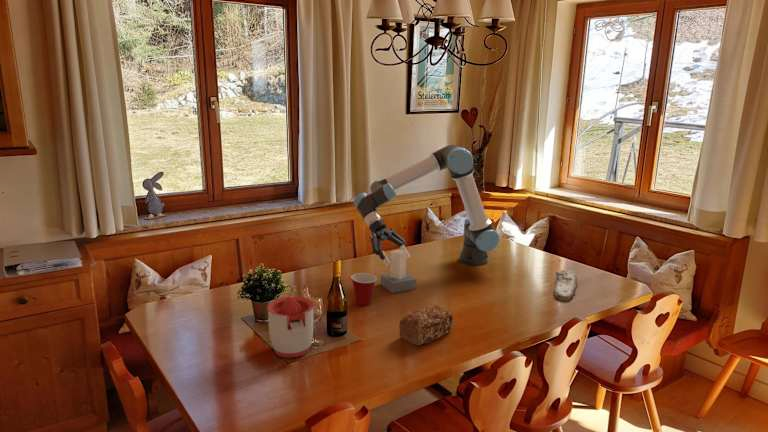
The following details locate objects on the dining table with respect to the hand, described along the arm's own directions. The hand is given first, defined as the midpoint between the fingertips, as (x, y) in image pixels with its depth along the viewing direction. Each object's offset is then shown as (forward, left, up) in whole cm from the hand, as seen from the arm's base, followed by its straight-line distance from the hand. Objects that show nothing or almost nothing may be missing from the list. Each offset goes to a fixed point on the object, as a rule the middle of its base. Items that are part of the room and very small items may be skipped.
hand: (398, 261), depth 241 cm
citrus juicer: (+54, +49, -12) cm, 74 cm away
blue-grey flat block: (0, -1, -13) cm, 13 cm away
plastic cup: (+20, +15, -12) cm, 28 cm away
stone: (-75, +20, -13) cm, 78 cm away
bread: (+5, +48, -13) cm, 50 cm away
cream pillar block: (0, -1, -8) cm, 8 cm away
